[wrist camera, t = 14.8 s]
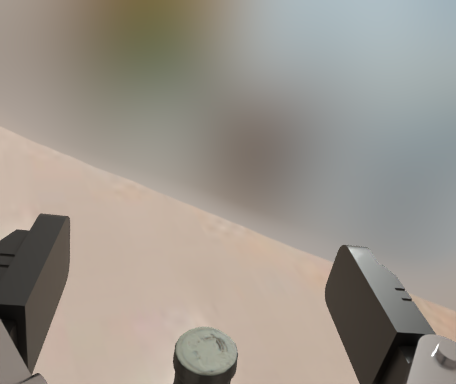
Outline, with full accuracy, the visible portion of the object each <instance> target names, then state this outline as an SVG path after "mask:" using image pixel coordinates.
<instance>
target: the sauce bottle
mask: <svg viewBox="0 0 456 384" xmlns="http://www.w3.org/2000/svg"><path fill="white" fill-rule="evenodd" d="M237 357H238V353H237V347H236V345H235V343H234V342H233V340H232V339H231V338H230V337H229V336H227V335H226V334H225V333H223V332H221V331H220V330H217V329H215V328H212V327H199V328H195V329H191V330H189V331H187V332H186V333H184V334H183V335H182V336H181V337H180V338H179V339H178V341H177V343H176V345H175V352H174V357H173V364H174V369H175V378H174V383H173V384H230V381H231V379H232V377H233V376H234V374H235V372H236V367H237Z"/></svg>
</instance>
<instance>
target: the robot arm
mask: <svg viewBox="0 0 456 384" xmlns="http://www.w3.org/2000/svg"><path fill="white" fill-rule="evenodd" d="M69 263H70V218H69V217H68V216H60V215H50V214H40V215H39V216H38V217H37V219H36V221H35V223H34V224H33V226H32V228H31V229H30V231H27V230H15V231H14V232H12V233H11V234H9V235H8V236H6V237H5V238H3V239H2V240H1V241H0V384H47V382H46V380H45V379H44V377H43V376H42V375H41V374H39V373H37V374H35V375H32V373H33V370H34V367H35V365H36V362H37V359H38V357H39V354H40V351H41V349H42V346H43V343H44V341H45V338H46V335H47V333H48V330H49V327H50V325H51V322H52V319H53V316H54V314H55V311H56V308H57V306H58V303H59V300H60V298H61V295H62V292H63V290H64V287H65V284H66V281H67V277H68V272H69ZM325 300H326V304H327V307H328V309H329V312H330V314H331V316H332V319H333V321H334V324H335V326H336V328H337V331H338V333H339V336H340V338H341V340H342V343H343V345H344V347H345V350H346V352H347V355H348V357H349V359H350V362H351V364H352V367H353V369H354V371H355V374H356V376H357V378H358V381H359V383H360V384H456V342H454V341H452V340H450V339H448V338H446V337H443V336H439V335H436V334H435V332H434V331H433V329H432V328H431V326H430V325H429V323H428V322H427V320H426V319H425V318H424V316H423V315H422V313H421V312H420V310H419V309H418V307H417V306H416V304H415V303H414V302H413V301H412V299H411V297H410V296H409V294H408V293H407V291H405V289H404V287H403V285H402V284H401V283H400V281H399V280H398V278H397V277H396V276H395V275H394V274H393V273H392V272H391V271H389V270H388V269H387V268H386V267H385V266H383V265H379V263H378V262H377V260H376V259H375V257H374V255H373V254H372V253H371V251H370V249H369V248H367V247H359V246H349V245H342V246H341V247H340V249H339V250H338V253H337V256H336V258H335V261H334V264H333V267H332V270H331V272H330V275H329V278H328V281H327V284H326V288H325Z"/></svg>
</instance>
